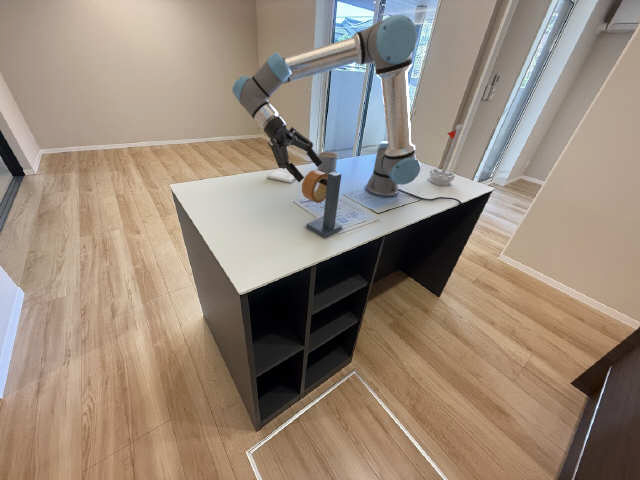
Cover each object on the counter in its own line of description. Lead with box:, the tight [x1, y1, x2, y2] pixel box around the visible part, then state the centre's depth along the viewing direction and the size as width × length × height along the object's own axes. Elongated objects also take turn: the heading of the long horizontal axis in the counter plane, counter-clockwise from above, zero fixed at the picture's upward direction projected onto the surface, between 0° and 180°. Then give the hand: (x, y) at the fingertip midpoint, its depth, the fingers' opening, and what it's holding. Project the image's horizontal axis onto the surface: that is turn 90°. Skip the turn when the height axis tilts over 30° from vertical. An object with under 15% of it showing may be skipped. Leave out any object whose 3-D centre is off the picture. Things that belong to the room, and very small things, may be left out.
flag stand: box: [428, 124, 463, 187], centre depth 133 cm, size 13×13×30 cm
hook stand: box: [306, 171, 343, 239], centre depth 86 cm, size 9×13×21 cm
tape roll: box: [301, 169, 328, 204], centre depth 85 cm, size 10×5×10 cm, turn 137°
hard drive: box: [267, 170, 296, 184], centre depth 126 cm, size 2×8×12 cm
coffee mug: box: [317, 151, 338, 174], centre depth 137 cm, size 13×10×10 cm
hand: (311, 172), depth 89 cm, fingers open, 13 cm apart
